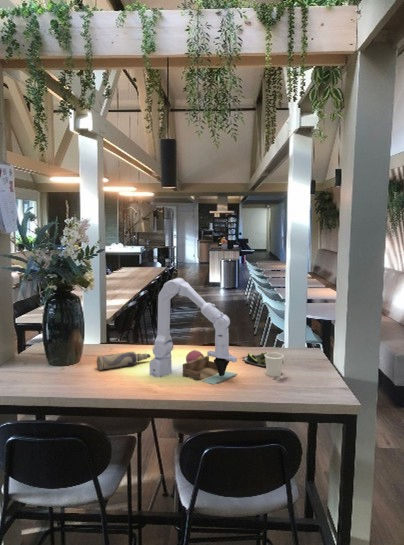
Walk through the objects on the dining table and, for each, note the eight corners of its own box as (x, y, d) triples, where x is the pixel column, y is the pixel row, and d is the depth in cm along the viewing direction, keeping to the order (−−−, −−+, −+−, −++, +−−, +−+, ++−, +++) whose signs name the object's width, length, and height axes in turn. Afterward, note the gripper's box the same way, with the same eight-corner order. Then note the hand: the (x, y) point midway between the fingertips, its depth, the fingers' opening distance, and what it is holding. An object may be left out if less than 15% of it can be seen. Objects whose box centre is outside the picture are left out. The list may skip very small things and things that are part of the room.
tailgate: (200, 382, 182) (214, 385, 177) (200, 380, 182) (214, 384, 177) (224, 373, 194) (238, 375, 189) (224, 371, 194) (238, 374, 189)
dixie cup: (269, 381, 185) (269, 358, 184) (261, 375, 193) (261, 353, 192) (286, 379, 187) (287, 357, 186) (278, 373, 195) (278, 351, 194)
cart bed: (198, 384, 182) (198, 369, 181) (181, 379, 189) (181, 364, 188) (225, 373, 195) (225, 359, 194) (208, 369, 202) (208, 355, 201)
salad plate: (262, 354, 226) (262, 345, 226) (291, 361, 213) (291, 352, 213) (237, 362, 213) (237, 352, 213) (266, 370, 200) (266, 361, 200)
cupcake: (203, 353, 208) (207, 347, 197) (202, 371, 205) (206, 366, 194) (185, 351, 207) (188, 345, 197) (184, 369, 204) (186, 364, 193)
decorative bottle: (100, 372, 198) (100, 358, 197) (96, 368, 205) (95, 354, 204) (153, 364, 210) (153, 350, 209) (148, 360, 217) (147, 346, 216)
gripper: (241, 345, 181) (241, 376, 183) (214, 339, 191) (214, 369, 192) (231, 348, 176) (230, 381, 178) (204, 342, 186) (204, 373, 187)
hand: (221, 375), depth 185 cm, fingers closed
